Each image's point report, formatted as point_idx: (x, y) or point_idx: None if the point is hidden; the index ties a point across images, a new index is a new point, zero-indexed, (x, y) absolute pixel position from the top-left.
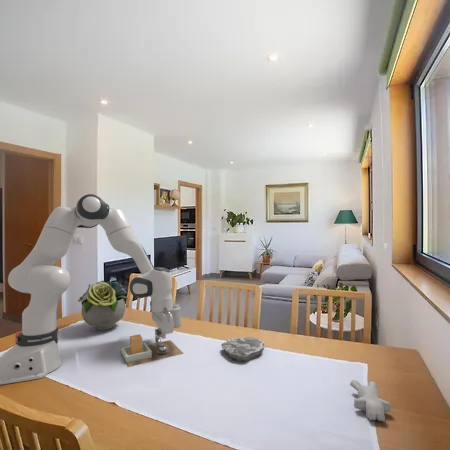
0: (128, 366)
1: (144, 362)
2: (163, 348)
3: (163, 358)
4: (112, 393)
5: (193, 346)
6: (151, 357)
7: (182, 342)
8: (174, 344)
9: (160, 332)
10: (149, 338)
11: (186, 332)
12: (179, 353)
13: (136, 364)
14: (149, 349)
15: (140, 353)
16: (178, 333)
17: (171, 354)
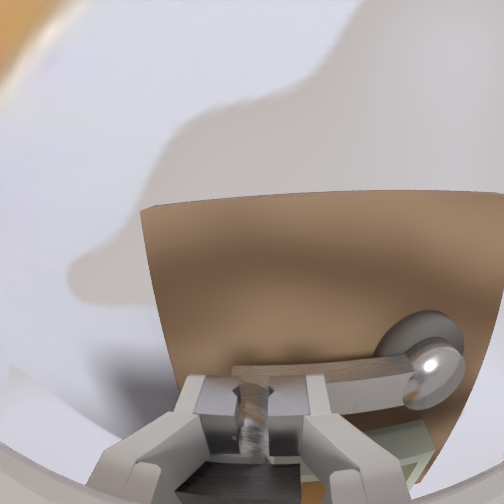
0: (416, 481)
1: (441, 442)
2: (460, 380)
3: (484, 356)
4: (484, 468)
5: (341, 20)
6: (421, 419)
7: (187, 80)
8: (297, 201)
9: (299, 486)
10: (33, 329)
11: (23, 43)
12: (502, 229)
13: (427, 464)
14: (400, 461)
15: (410, 486)
16: (8, 104)
17: (480, 296)
